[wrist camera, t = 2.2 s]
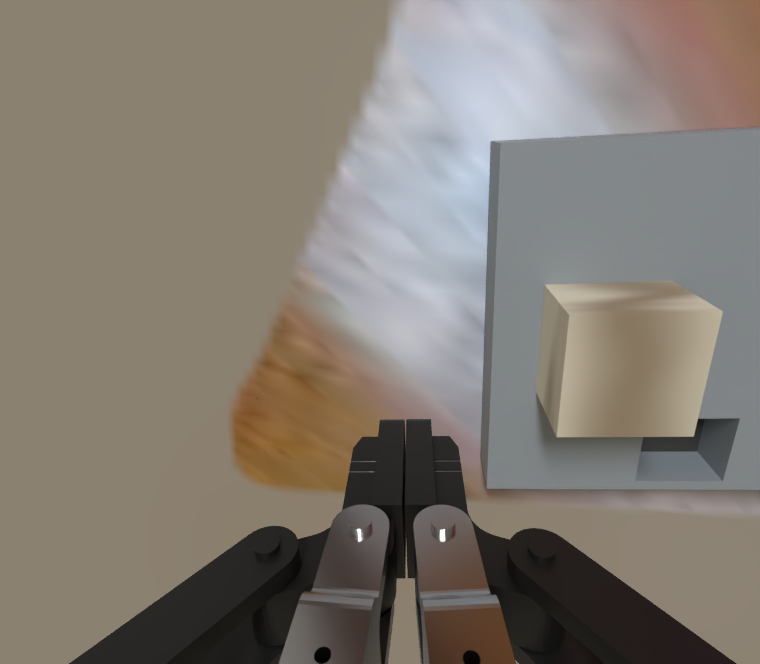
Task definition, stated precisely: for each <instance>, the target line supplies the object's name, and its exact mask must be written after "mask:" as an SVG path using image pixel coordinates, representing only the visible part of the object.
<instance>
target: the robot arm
mask: <svg viewBox="0 0 760 664" xmlns="http://www.w3.org/2000/svg"><path fill="white" fill-rule="evenodd" d="M406 540H407V541H406ZM406 543H407V567H408V578H415V593H416V615H417V625H418V636H419V648H420V658H421V664H516V662H515V660H516V661H517V662H518V663H519V664H736V663H735V662H733V661H732V660H730V659H729V658H728V657H726V656H725V655H724V654H722V653H721V652H719V651H718V650H717V649H715V648H714V647H712V646H711V645H710V644H708V643H707V642H706V641H704V640H703V639H701V638H700V637H699V636H697V635H696V634H694V633H693V632H692V631H690V630H689V629H688V628H686V627H685V626H683V625H682V624H681V623H679V622H678V621H677V620H675V619H674V618H672V617H671V616H670V615H668V614H667V613H665V612H664V611H663V610H661V609H660V608H658V607H657V606H656V605H654V604H653V603H652V602H650V601H649V600H647V599H646V598H645V597H643V596H642V595H640V594H639V593H638V592H636V591H635V590H634V589H632V588H631V587H629V586H628V585H627V584H625V583H624V582H622V581H621V580H620V579H618V578H617V577H616V576H614V575H613V574H611V573H610V572H609V571H607V570H606V569H604V568H603V567H602V566H600V565H599V564H598V563H596V562H595V561H593V560H592V559H590V558H589V557H588V556H586V555H585V554H584V553H582V552H581V551H579V550H578V549H577V548H575V547H574V546H573V545H571V544H570V543H569V542H567V541H566V540H564V539H563V538H561V537H560V536H558V535H557V534H555V533H553V532H550V531H547V530H543V529H536V528H532V529H531V528H530V529H524V530H522V531H519V532H517V533H516V534H515V535H514V536H513V537H512V538H511V539H510V540H509V539H505V538H501V537H498V536H494V535H491V534H489V533H487V532H485V531H483V530H482V529H480V528H479V527H478V526H476V525H475V524H474V522H473V521H472V520H471V518H470V516H469V514H468V511H467V504H466V497H465V490H464V483H463V476H462V470H461V463H460V456H459V449H458V446H457V445H456V444H455V442H454V441H453V440H452V439H451V438H450V436H432V431H431V419H406V444H405V421H404V420H380V424H379V434H378V437H362V438H361V439H360V441H359V442H358V443H357V444H356V445H355V447H354V448H353V453H352V459H351V464H350V470H349V475H348V481H347V487H346V492H345V498H344V504H343V509H342V511H341V512H340V513H338V514H337V516H336V517H335V518H334V520H333V522H332V524H331V527H330V528H329V529H327V530H325V531H323V532H321V533H319V534H316V535H312V536H308V537H305V538H301V539H297V537H296V535H295V534H294V533H293V532H292V531H291V530H289V529H287V528H285V527H281V526H269V527H264V528H261V529H258V530H256V531H254V532H253V533H251V534H249V535H248V536H247V537H246V538H244V539H242V540H241V541H240V542H238V543H237V544H235V545H234V546H233V547H232V548H230V549H228V550H227V551H226V552H224V553H223V554H221V555H220V556H219V557H217V558H216V559H214V560H213V561H212V562H210V563H209V564H208V565H206V566H205V567H203V568H202V569H201V570H199V571H198V572H196V573H195V574H194V575H192V576H191V577H189V578H188V579H187V580H185V581H184V582H182V583H181V584H180V585H178V586H177V587H175V588H174V589H173V590H171V591H170V592H169V593H167V594H166V595H164V596H163V597H162V598H160V599H159V600H157V601H156V602H154V603H153V604H152V605H150V606H149V607H148V608H146V609H145V610H143V611H142V612H141V613H139V614H138V615H136V616H135V617H134V618H132V619H131V620H129V621H128V622H127V623H125V624H124V625H122V626H121V627H120V628H118V629H117V630H115V631H114V632H113V633H111V634H110V635H109V636H107V637H106V638H104V639H103V640H102V641H100V642H99V643H97V644H96V645H95V646H93V647H92V648H90V649H89V650H88V651H86V652H85V653H83V654H82V655H81V656H79V657H78V658H76V659H75V660H74V661H72V662H71V663H69V664H388V657H389V648H390V640H391V631H392V624H393V614H394V600H395V596H396V579H397V578H405V557H406V553H405V552H406Z"/></svg>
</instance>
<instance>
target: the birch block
mask: <svg viewBox="0 0 760 664" xmlns="http://www.w3.org/2000/svg"><path fill="white" fill-rule="evenodd" d="M722 314H723V311H722V310H720V309H718V308H717V307H715V306H713V305H712V304H710V303H708V302H707V301H705V300H703V299H702V298H700V297H698V296H697V295H695V294H693V293H692V292H690V291H688V290H687V289H685V288H683V287H682V286H680V285H678V284H677V283H675V282H673V281H650V282H617V283H583V284H549V285H544V297H543V309H542V322H541V334H540V346H539V359H538V371H537V383H536V393H537V395H538V397H539V400H540V402H541V404H542V406H543V408H544V411H545V413H546V415H547V417H548V419H549V422H550V424H551V426H552V428H553V430H554V433H555V435H556V437H694V433H695V429H696V425H697V421H698V416H699V412H700V408H701V404H702V399H703V395H704V391H705V386H706V382H707V378H708V374H709V369H710V365H711V361H712V357H713V352H714V348H715V344H716V340H717V335H718V331H719V327H720V322H721V318H722Z"/></svg>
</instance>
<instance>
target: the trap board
mask: <svg viewBox="0 0 760 664" xmlns="http://www.w3.org/2000/svg"><path fill="white" fill-rule="evenodd" d="M650 281H673V282H675V283H677V284H678V285H680V286H682V287H683V288H685V289H687V290H688V291H690V292H692V293H693V294H695V295H697V296H698V297H700V298H702V299H703V300H705V301H707V302H708V303H710V304H712V305H713V306H715V307H717V308H718V309H720V310H722V311H723V314H722V318H721V322H720V327H719V331H718V335H717V340H716V344H715V348H714V352H713V357H712V361H711V365H710V369H709V374H708V378H707V382H706V386H705V391H704V395H703V399H702V404H701V408H700V412H699V416H698V421H697V425H696V429H695V433H694V437H556V435H555V433H554V430H553V428H552V426H551V424H550V422H549V419H548V417H547V415H546V413H545V411H544V408H543V406H542V404H541V402H540V400H539V397H538V395H537V393H536V383H537V371H538V359H539V346H540V334H541V322H542V309H543V297H544V285H549V284H583V283H617V282H650ZM481 463H482V468H483V473H484V478H485V483H486V488H487V489H638V490H760V127H748V128H730V129H711V130H692V131H674V132H655V133H637V134H618V135H600V136H581V137H562V138H544V139H525V140H507V141H491V154H490V184H489V214H488V245H487V275H486V305H485V336H484V366H483V396H482V427H481Z"/></svg>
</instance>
